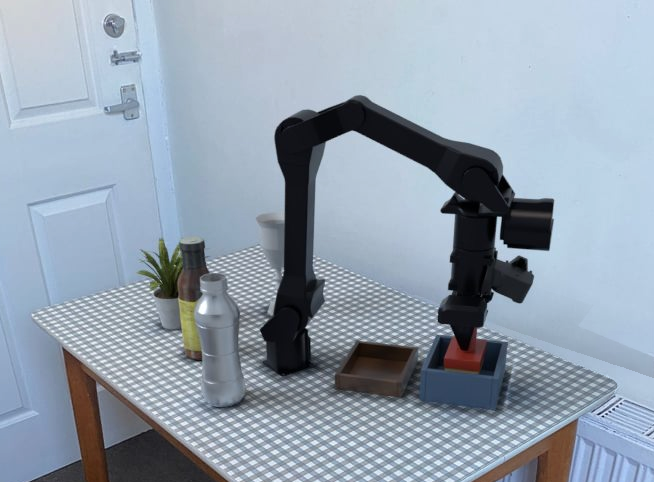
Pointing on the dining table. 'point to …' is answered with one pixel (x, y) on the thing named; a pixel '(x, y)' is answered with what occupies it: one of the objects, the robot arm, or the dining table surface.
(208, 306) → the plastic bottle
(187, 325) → the sauce bottle
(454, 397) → the tote
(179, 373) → the dining table surface
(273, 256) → the chalice
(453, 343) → the brush
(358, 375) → the brown wooden tray
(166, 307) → the house plant
